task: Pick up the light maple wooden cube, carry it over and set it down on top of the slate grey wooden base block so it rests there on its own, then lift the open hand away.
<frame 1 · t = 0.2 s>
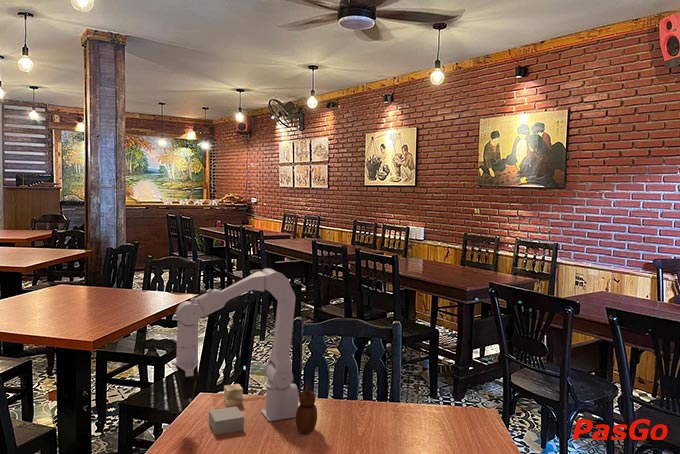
hand: (186, 393, 143), 10 cm above the table, tool pointing down, fingers open, 7 cm apart
slate base block: (225, 427, 145), on the table
wooden figurine: (306, 431, 144), on the table
maple cube: (233, 402, 162), on the table
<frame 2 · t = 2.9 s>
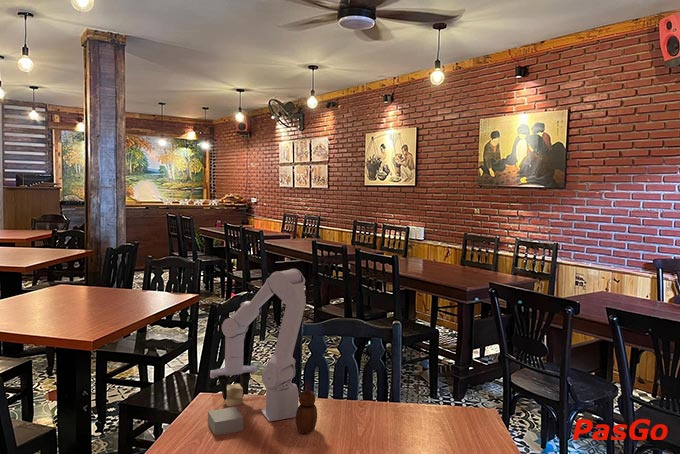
hand: (233, 397, 162), 2 cm above the table, tool pointing down, fingers closed on maple cube, 5 cm apart
maple cube: (233, 402, 162), on the table, touching gripper
everything else where it was.
when the fingers open (7 cm above the table, at t = 7.2 s): maple cube drops 2 cm, point 4 cm above the table.
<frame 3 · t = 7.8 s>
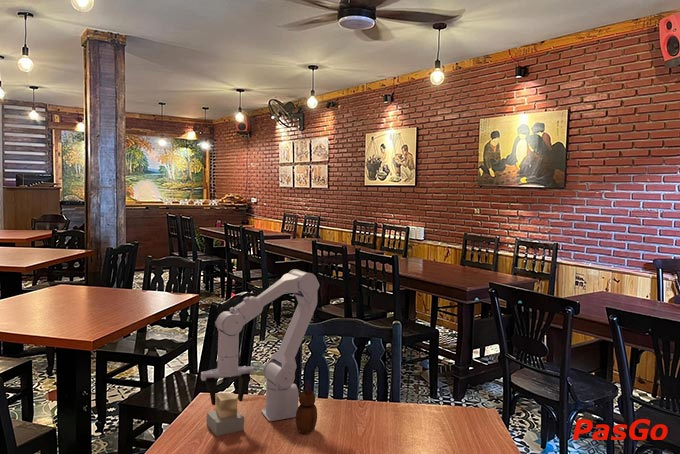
hand: (226, 401, 145), 7 cm above the table, tool pointing down, fingers open, 7 cm apart
maple cube: (226, 413, 145), point 4 cm above the table
everything else where it was.
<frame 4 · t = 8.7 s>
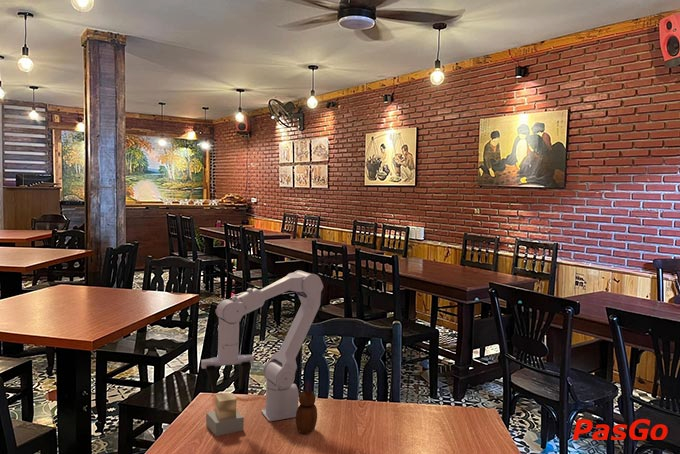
hand: (227, 390, 145), 10 cm above the table, tool pointing down, fingers open, 7 cm apart
slate base block: (224, 428, 144), on the table, touching maple cube
maple cube: (225, 414, 144), point 4 cm above the table, touching slate base block
everything else where it was.
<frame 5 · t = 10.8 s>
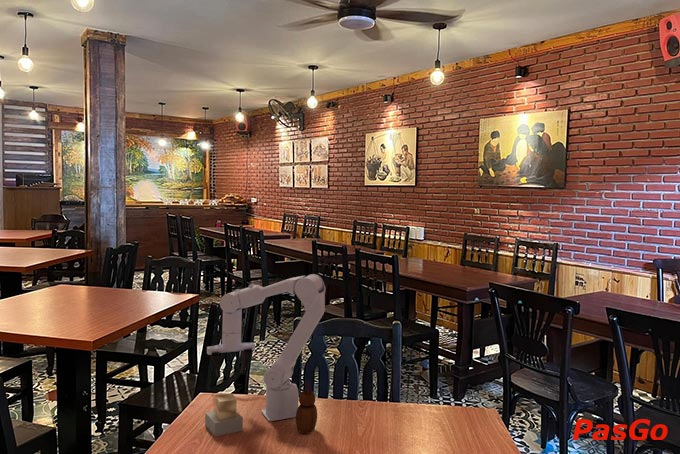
hand: (230, 374, 157), 10 cm above the table, tool pointing down, fingers open, 7 cm apart
slate base block: (223, 428, 144), on the table
maple cube: (225, 414, 144), point 4 cm above the table
everything else where it was.
at the end: maple cube 0.4 cm off-centre on the slate base block, point 4.0 cm above the slate base block's base; maple cube tilted 0°; the gripper is holding nothing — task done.
